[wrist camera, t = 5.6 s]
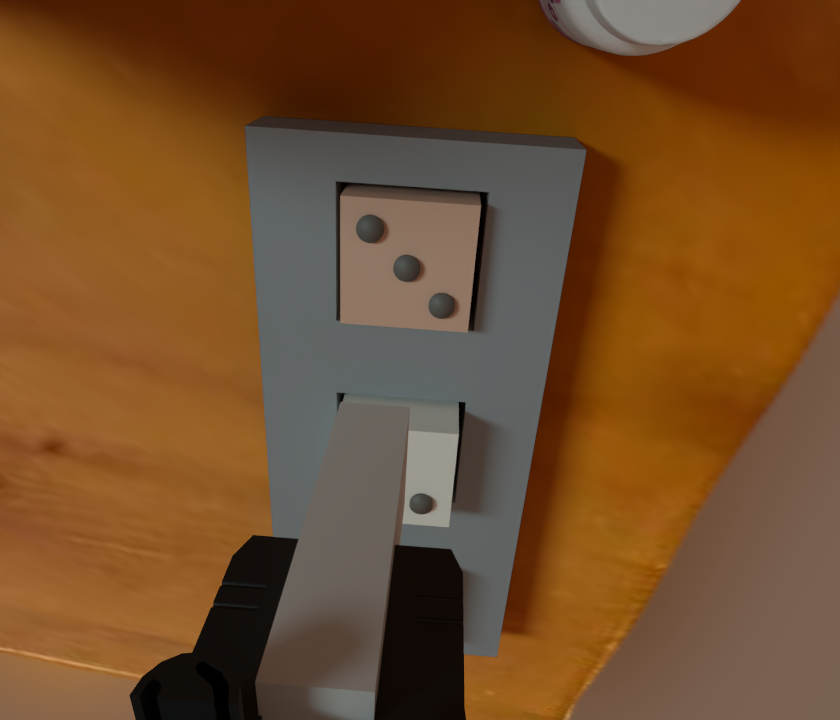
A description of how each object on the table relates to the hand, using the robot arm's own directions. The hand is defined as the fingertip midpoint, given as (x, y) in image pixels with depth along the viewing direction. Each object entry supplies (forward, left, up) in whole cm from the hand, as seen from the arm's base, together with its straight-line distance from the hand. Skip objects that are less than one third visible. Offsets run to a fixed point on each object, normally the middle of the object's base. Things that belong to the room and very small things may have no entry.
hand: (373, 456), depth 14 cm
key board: (0, -9, -14) cm, 17 cm away
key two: (0, -9, -13) cm, 15 cm away
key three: (0, 0, -14) cm, 14 cm away
